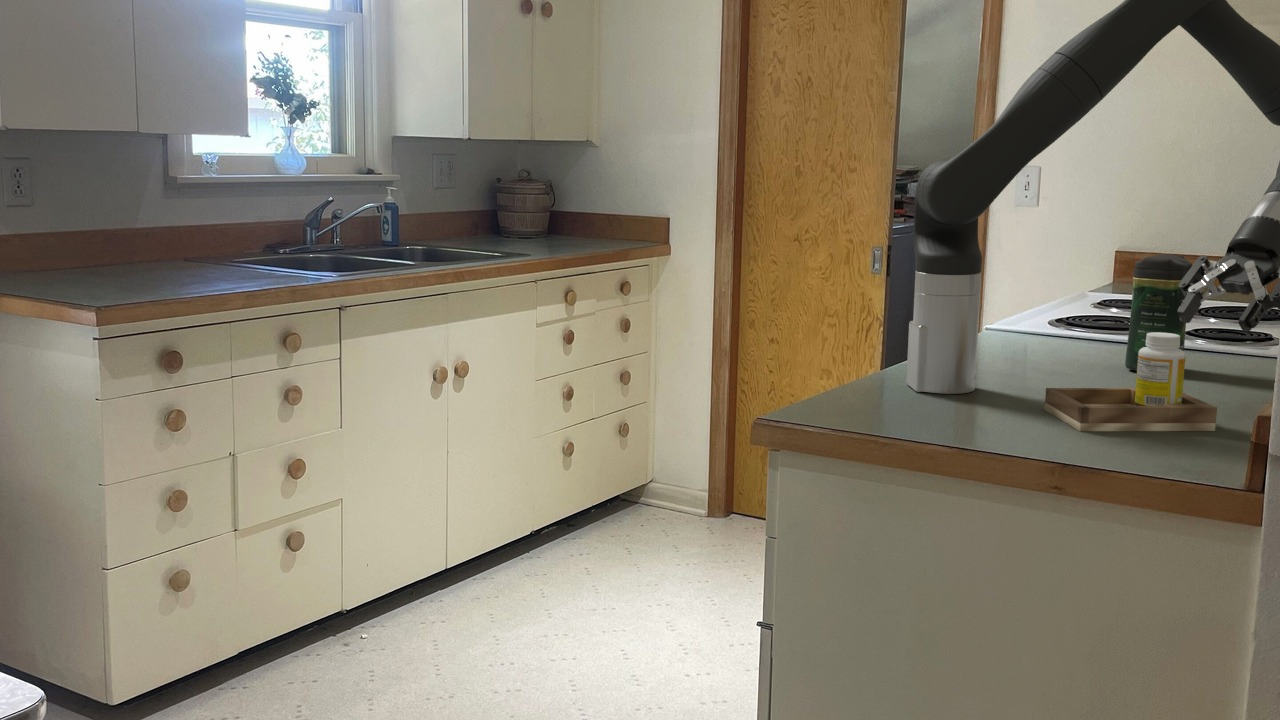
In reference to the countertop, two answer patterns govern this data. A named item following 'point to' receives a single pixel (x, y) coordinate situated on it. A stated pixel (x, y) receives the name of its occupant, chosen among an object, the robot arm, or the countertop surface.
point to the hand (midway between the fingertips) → (1212, 323)
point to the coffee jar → (1155, 302)
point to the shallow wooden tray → (1126, 411)
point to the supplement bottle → (1160, 371)
